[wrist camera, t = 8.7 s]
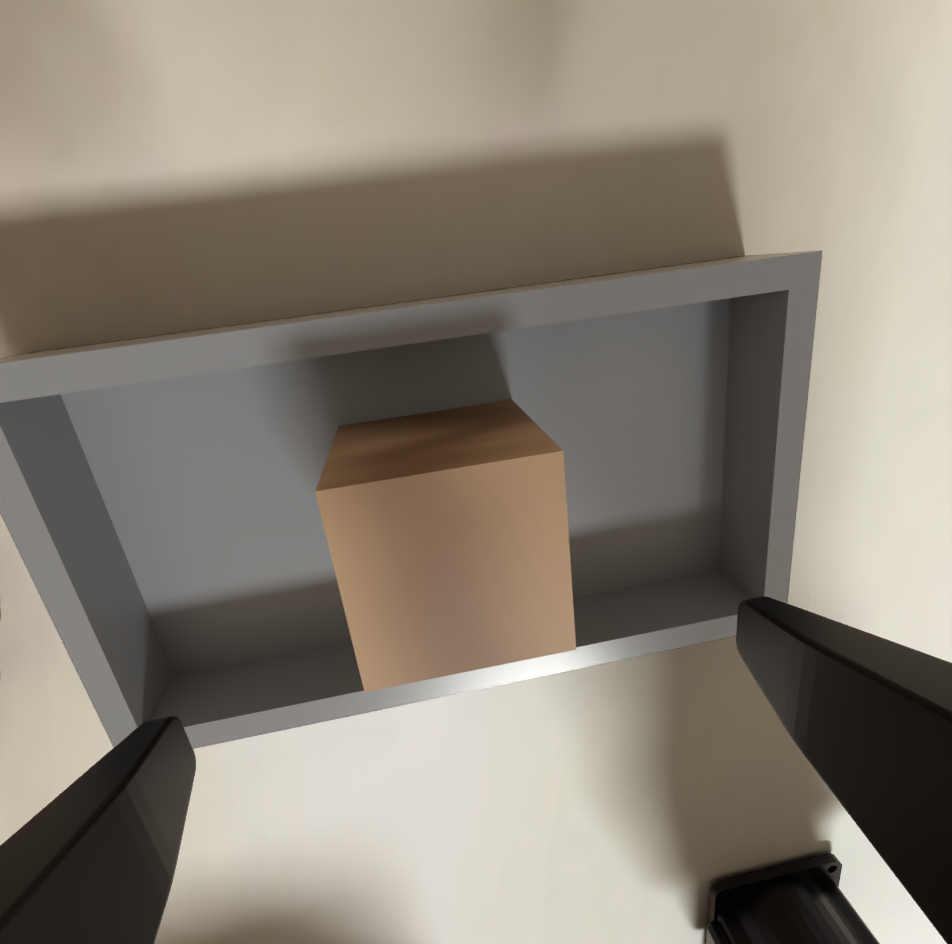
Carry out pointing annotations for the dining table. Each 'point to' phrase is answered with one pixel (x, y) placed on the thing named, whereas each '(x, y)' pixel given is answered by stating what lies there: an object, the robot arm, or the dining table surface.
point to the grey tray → (387, 396)
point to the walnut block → (449, 542)
